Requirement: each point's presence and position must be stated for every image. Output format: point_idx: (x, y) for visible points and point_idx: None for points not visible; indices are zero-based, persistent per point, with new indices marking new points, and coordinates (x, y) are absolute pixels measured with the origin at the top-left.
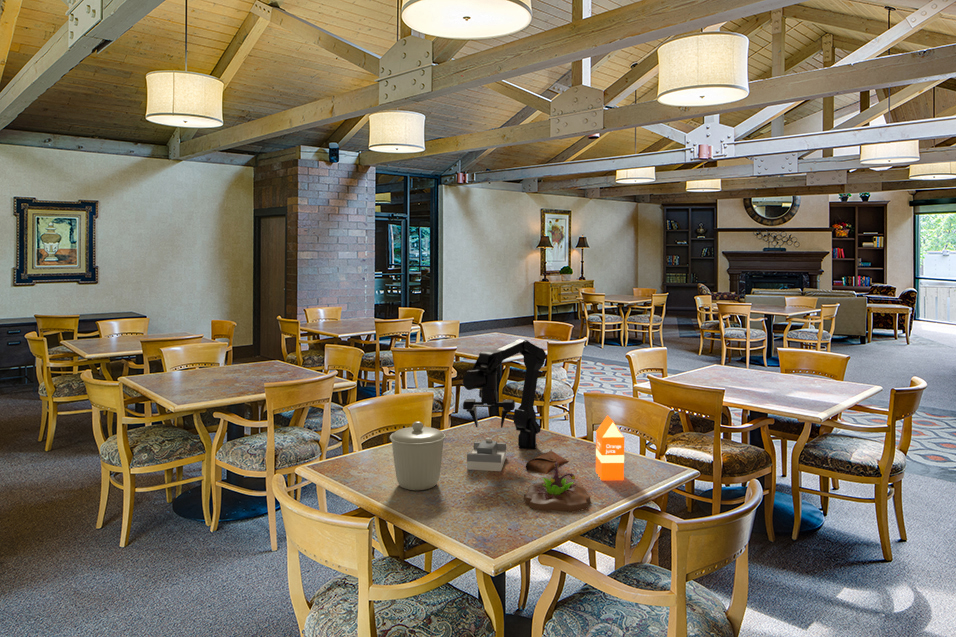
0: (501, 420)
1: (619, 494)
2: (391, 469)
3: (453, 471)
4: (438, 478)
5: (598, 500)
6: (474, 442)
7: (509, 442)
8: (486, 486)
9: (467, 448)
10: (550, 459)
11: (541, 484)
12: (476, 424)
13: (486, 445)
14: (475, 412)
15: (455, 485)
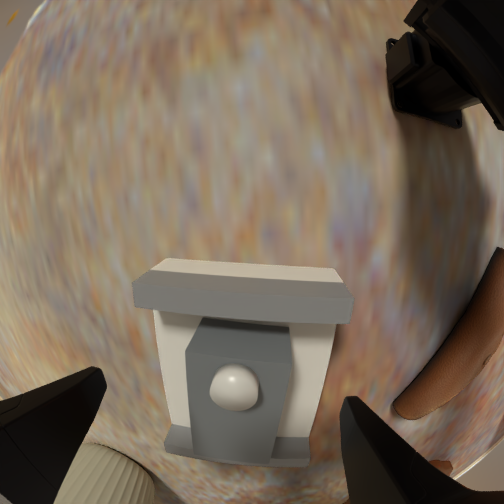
0: (351, 498)
1: (491, 442)
2: (25, 376)
3: (148, 419)
4: (153, 490)
5: (451, 472)
6: (138, 303)
7: (326, 12)
8: (263, 487)
9: (119, 135)
10: (481, 366)
11: None
12: (92, 410)
13: (232, 434)
14: (28, 483)
15: (190, 480)
